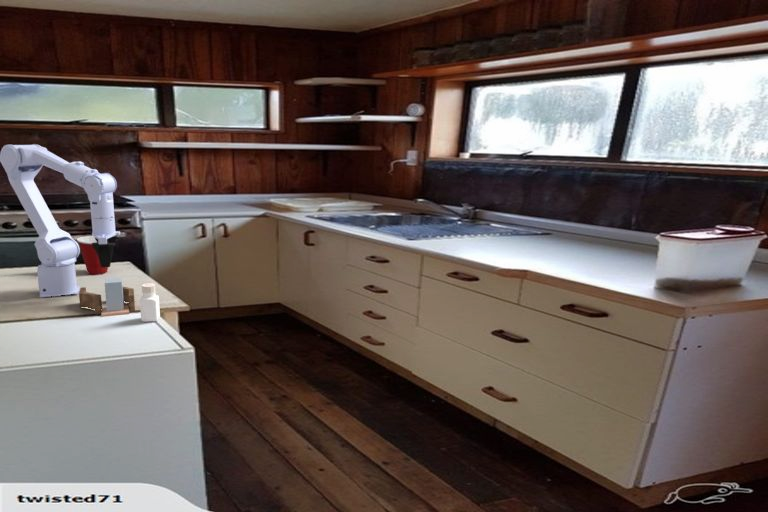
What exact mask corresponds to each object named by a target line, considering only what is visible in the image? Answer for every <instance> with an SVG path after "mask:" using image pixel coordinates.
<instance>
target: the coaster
mask: <svg viewBox="0 0 768 512" xmlns="http://www.w3.org/2000/svg"><path fill="white" fill-rule="evenodd" d="M128 314H130V305H129V304H124V310H122V311H111V312H107V306H102V311H101V314H100V316H101V317H108V316H109V317H110V316H119V315H128Z"/></svg>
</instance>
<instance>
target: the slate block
mask: <svg viewBox="0 0 768 512" xmlns="http://www.w3.org/2000/svg"><path fill="white" fill-rule="evenodd" d="M123 287H124V286H123V277H120V278H117V277H116V278H106V279H104V291H105V303H106V306H105V307H107V312H111V311H122V310H124V305H125V303H124V299H123Z"/></svg>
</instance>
